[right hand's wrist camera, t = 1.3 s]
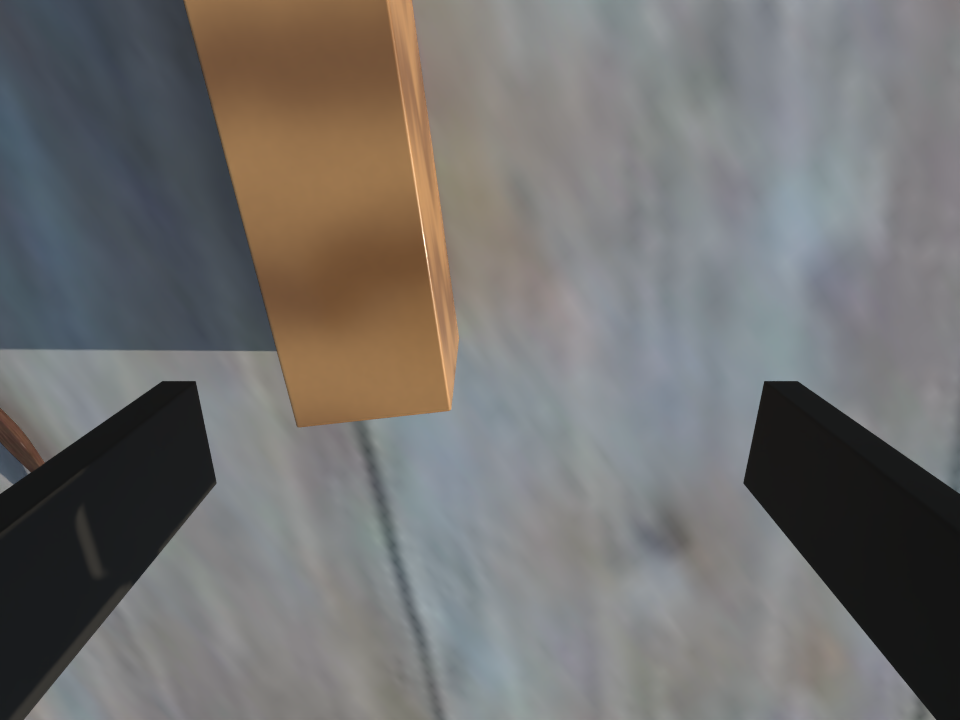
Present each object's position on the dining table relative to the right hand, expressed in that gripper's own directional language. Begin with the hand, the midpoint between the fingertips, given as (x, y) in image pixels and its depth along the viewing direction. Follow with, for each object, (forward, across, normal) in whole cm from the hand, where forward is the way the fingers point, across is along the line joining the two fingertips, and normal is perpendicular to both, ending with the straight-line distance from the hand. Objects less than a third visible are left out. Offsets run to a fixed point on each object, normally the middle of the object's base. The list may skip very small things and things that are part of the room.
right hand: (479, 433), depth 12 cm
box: (+15, +5, -7) cm, 17 cm away
